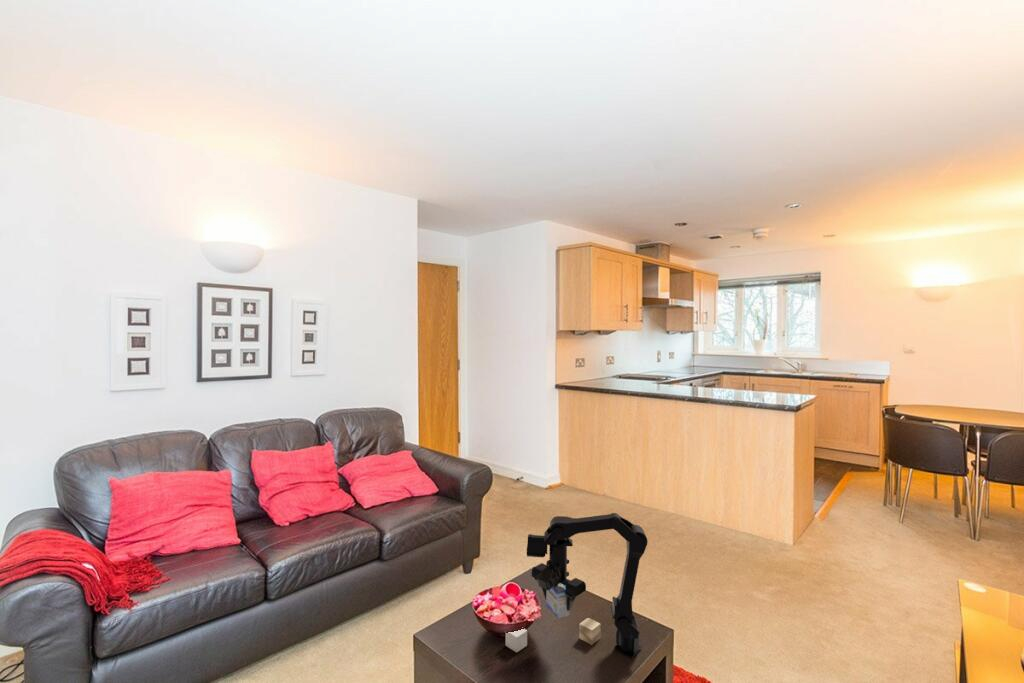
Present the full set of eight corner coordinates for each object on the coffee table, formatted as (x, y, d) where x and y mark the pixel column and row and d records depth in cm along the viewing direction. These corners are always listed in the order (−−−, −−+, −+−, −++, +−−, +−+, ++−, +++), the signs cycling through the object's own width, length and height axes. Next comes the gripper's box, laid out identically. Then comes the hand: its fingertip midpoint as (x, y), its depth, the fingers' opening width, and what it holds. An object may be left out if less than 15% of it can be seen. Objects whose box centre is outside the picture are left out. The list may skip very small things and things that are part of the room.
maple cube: (600, 638, 160) (600, 623, 160) (591, 645, 156) (592, 630, 156) (587, 631, 163) (588, 617, 163) (579, 638, 160) (579, 623, 159)
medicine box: (545, 606, 159) (545, 580, 159) (557, 603, 161) (557, 577, 161) (557, 619, 152) (558, 592, 152) (569, 615, 154) (570, 588, 154)
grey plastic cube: (527, 645, 156) (527, 630, 156) (516, 652, 152) (516, 637, 152) (516, 638, 159) (516, 623, 159) (505, 645, 155) (505, 630, 155)
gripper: (520, 556, 157) (520, 603, 157) (565, 576, 144) (565, 627, 144) (542, 545, 165) (542, 590, 165) (587, 563, 152) (586, 612, 152)
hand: (557, 604), depth 156 cm, fingers closed on medicine box, 9 cm apart
